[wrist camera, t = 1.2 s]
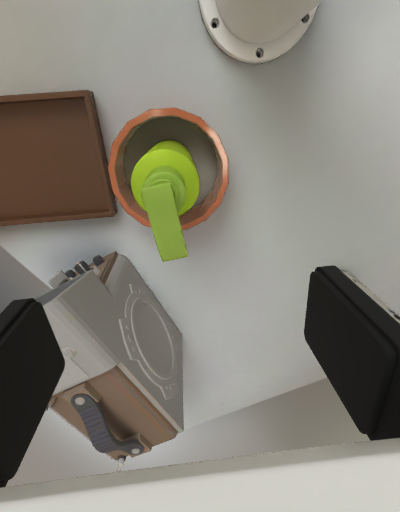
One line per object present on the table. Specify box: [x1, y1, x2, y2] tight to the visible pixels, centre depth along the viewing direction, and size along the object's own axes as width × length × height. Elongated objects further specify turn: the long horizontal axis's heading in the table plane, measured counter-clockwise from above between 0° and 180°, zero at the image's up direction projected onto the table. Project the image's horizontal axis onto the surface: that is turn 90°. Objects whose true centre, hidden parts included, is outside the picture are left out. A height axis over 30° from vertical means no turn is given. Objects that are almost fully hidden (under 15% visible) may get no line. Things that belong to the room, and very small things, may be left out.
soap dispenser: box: [131, 140, 200, 262], centre depth 26 cm, size 6×7×20 cm
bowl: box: [108, 108, 228, 230], centre depth 33 cm, size 13×13×5 cm
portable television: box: [34, 251, 184, 472], centre depth 31 cm, size 12×24×30 cm, turn 27°
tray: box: [0, 90, 117, 226], centre depth 33 cm, size 14×18×2 cm
